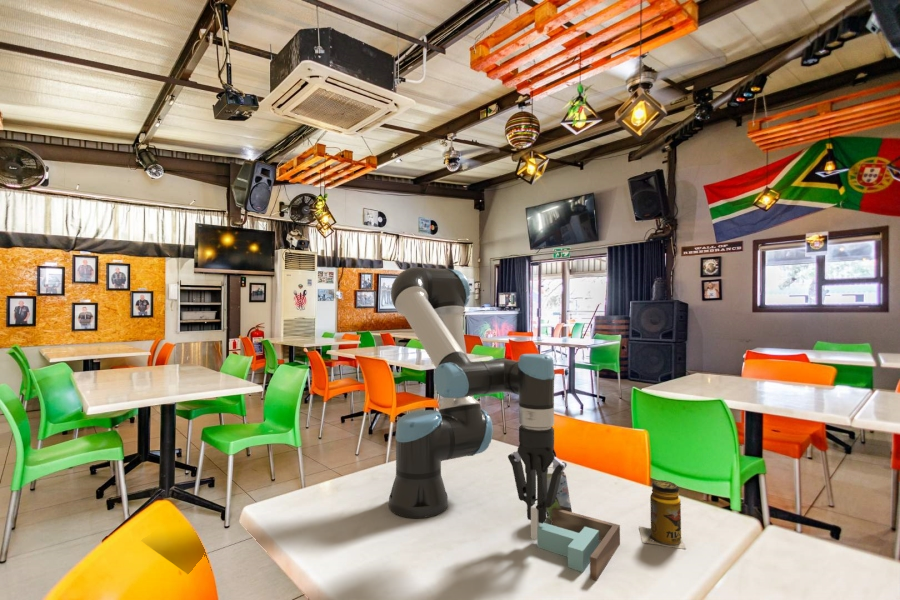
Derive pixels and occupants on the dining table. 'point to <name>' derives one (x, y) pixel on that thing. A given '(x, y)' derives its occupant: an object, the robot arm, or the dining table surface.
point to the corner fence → (607, 536)
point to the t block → (569, 544)
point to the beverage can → (559, 494)
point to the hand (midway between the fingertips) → (536, 536)
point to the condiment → (664, 516)
